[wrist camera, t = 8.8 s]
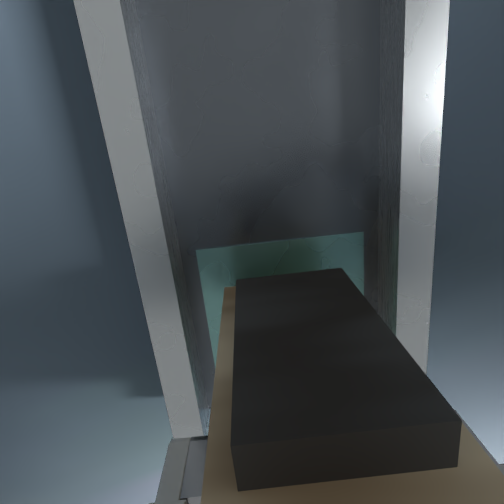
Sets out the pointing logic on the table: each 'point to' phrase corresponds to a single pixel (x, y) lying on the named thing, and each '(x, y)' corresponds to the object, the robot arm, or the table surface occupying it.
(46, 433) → the table surface
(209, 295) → the rail
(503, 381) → the table surface
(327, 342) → the wooden block
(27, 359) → the table surface
